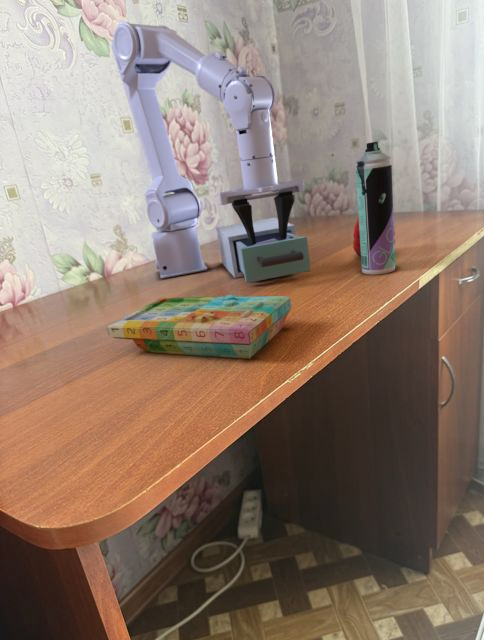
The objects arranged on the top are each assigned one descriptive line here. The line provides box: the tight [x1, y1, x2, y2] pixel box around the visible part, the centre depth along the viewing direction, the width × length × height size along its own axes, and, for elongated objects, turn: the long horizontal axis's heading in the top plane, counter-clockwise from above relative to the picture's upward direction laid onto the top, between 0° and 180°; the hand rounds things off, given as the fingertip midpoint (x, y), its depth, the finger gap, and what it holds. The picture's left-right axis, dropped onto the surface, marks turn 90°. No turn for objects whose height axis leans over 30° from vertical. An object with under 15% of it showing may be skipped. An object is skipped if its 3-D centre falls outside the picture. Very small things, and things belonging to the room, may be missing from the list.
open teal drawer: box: [233, 232, 311, 284], centre depth 88 cm, size 18×11×6 cm, turn 13°
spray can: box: [355, 141, 396, 275], centre depth 80 cm, size 6×6×20 cm
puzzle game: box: [106, 294, 293, 360], centre depth 63 cm, size 12×5×20 cm
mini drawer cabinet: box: [215, 217, 297, 279], centre depth 99 cm, size 15×13×8 cm
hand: (268, 240), depth 87 cm, fingers open, 5 cm apart
